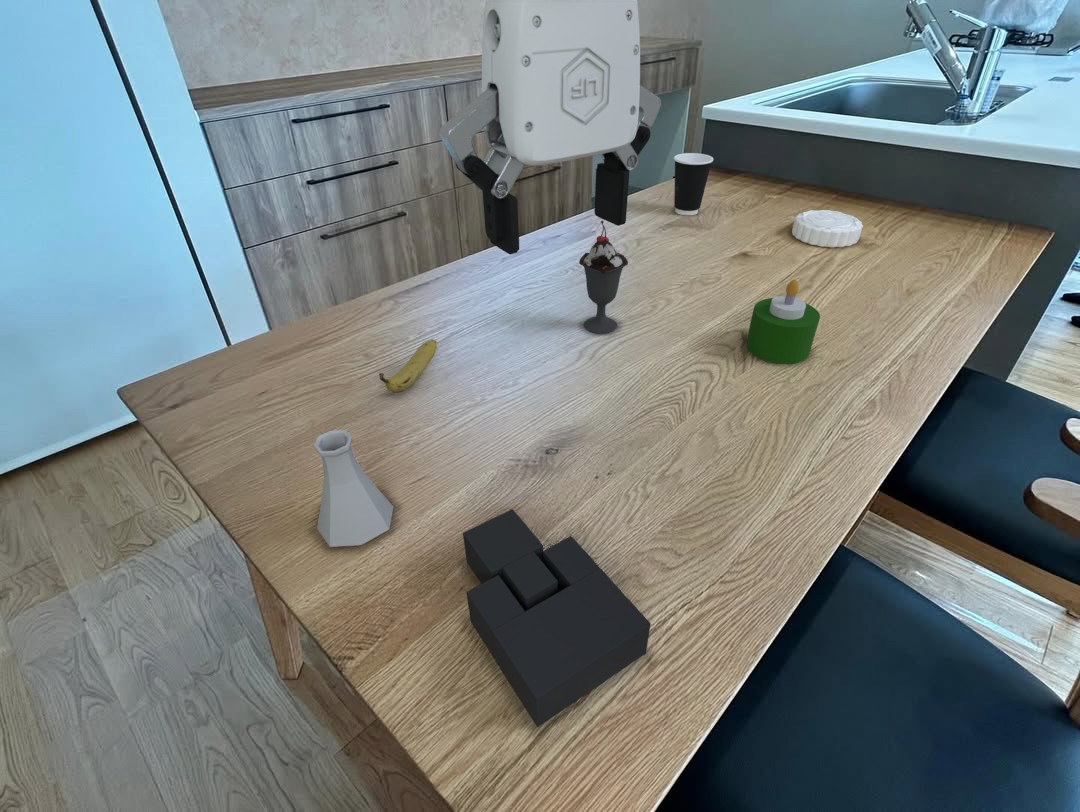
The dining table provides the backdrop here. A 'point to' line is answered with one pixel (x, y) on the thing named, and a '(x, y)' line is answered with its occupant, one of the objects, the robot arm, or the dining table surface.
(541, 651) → the notch pad
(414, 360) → the banana
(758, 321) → the candle
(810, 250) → the dining table surface
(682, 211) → the dixie cup
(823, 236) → the mooncake
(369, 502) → the flask
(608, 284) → the sundae
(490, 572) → the pad
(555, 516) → the dining table surface
